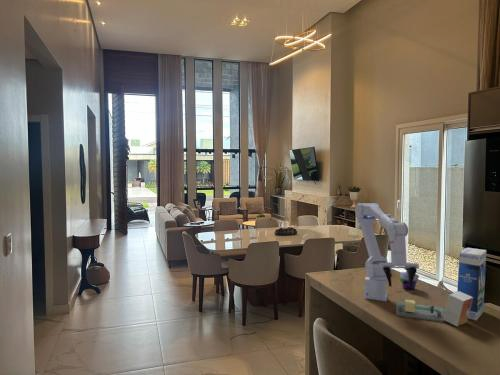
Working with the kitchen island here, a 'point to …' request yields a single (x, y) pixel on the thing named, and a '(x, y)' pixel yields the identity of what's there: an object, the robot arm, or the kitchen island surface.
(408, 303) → the sleeve
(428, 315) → the teal rod on plate
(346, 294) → the kitchen island surface
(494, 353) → the kitchen island surface
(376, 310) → the kitchen island surface
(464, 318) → the small box
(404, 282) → the potion bottle
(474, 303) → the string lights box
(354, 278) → the kitchen island surface
